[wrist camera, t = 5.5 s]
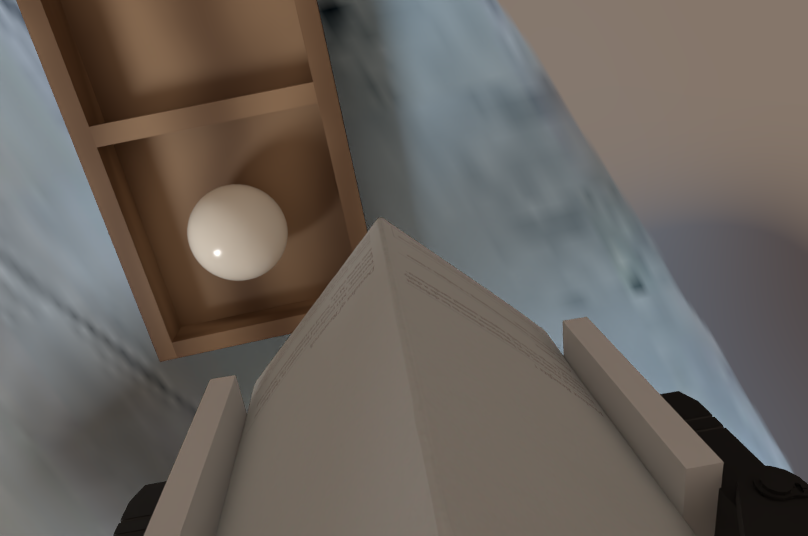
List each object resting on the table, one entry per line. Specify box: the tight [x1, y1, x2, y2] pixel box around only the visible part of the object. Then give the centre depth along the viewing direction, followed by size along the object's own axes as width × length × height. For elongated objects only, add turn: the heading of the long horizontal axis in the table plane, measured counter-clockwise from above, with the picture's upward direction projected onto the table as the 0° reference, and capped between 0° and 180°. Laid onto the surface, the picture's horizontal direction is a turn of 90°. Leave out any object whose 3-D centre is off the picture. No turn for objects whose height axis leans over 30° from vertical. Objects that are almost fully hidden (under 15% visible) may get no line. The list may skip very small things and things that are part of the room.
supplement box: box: [215, 218, 697, 536], centre depth 13 cm, size 7×7×13 cm
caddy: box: [16, 0, 368, 362], centre depth 28 cm, size 13×25×3 cm, turn 10°
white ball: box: [187, 184, 288, 281], centre depth 29 cm, size 5×5×5 cm
